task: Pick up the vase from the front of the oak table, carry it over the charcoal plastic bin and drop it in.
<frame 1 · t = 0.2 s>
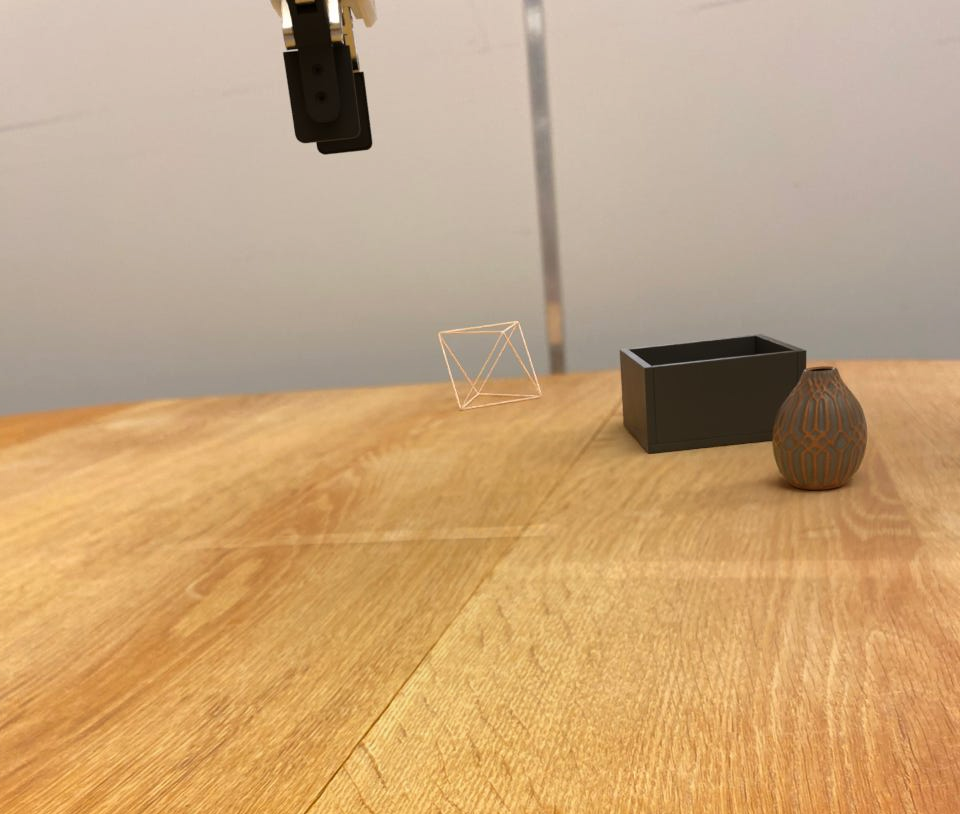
hand: (338, 146, 57), 26 cm above the table, tool pointing down, fingers open, 9 cm apart
bin: (708, 430, 105), on the table
vase: (818, 486, 83), on the table
geometric polyhedron: (493, 402, 135), on the table
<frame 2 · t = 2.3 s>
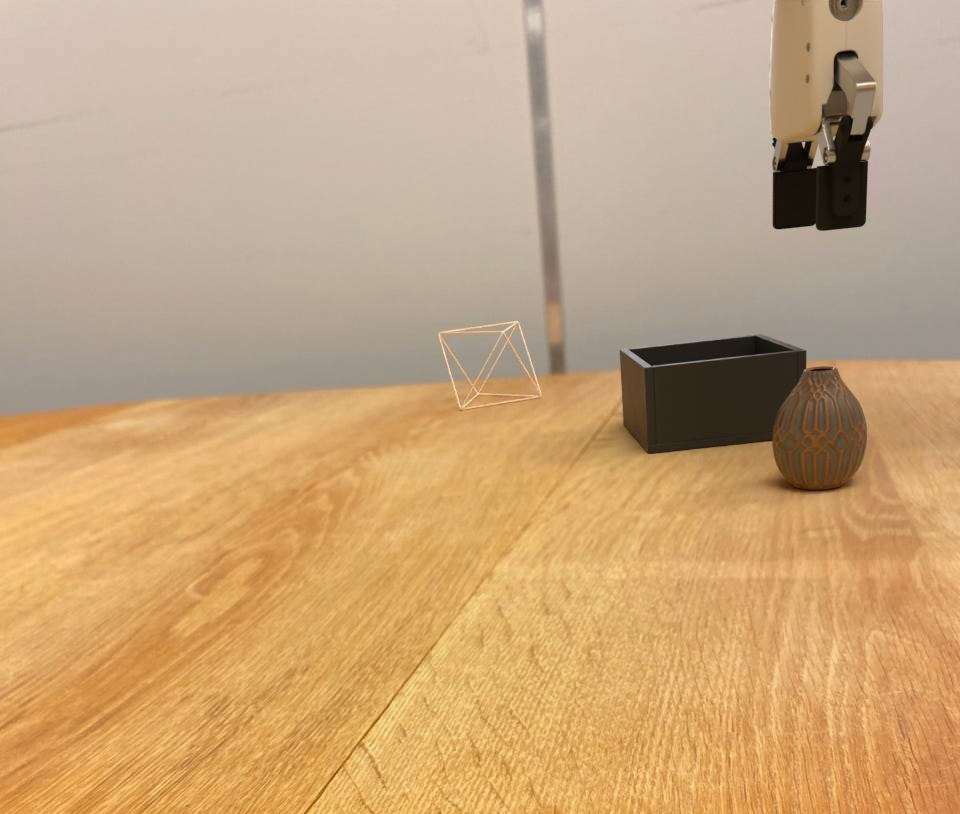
hand: (816, 228, 75), 19 cm above the table, tool pointing down, fingers open, 9 cm apart
nothing on the table moved.
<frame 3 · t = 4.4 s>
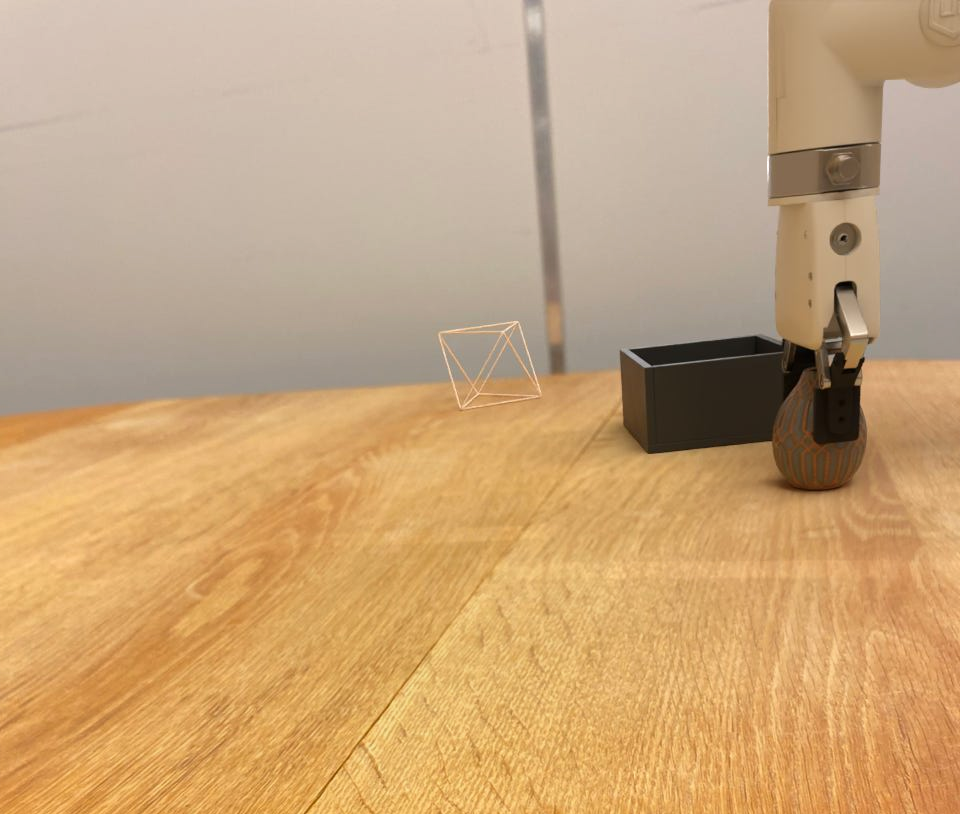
hand: (818, 430, 81), 4 cm above the table, tool pointing down, fingers closed on vase, 6 cm apart
vase: (818, 486, 83), on the table, touching gripper
everything else where it was.
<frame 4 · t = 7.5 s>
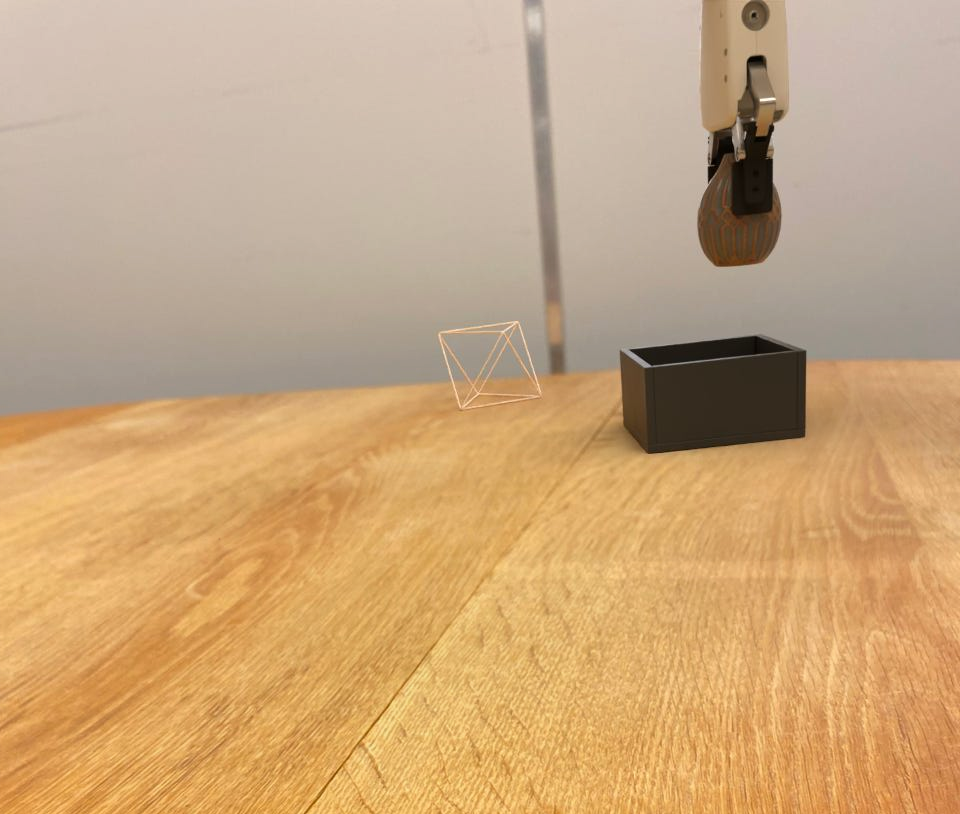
hand: (739, 212, 89), 20 cm above the table, tool pointing down, fingers closed on vase, 6 cm apart
vase: (739, 267, 91), point 16 cm above the table, touching gripper
everything else where it was.
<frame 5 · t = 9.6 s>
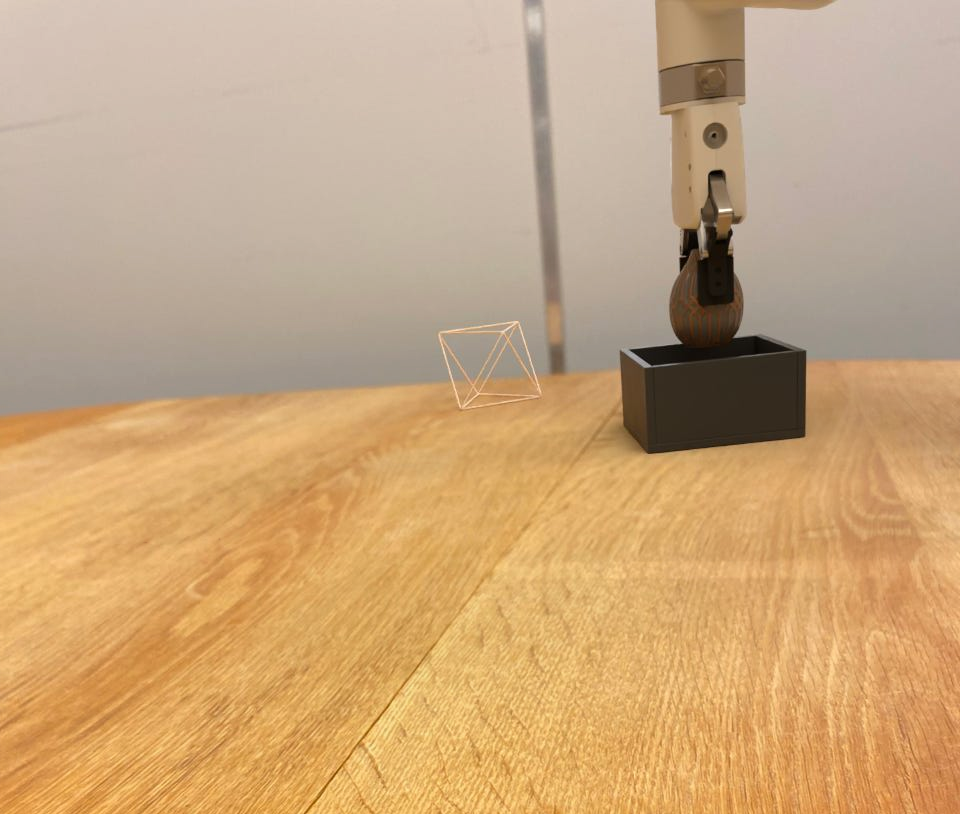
hand: (706, 300, 100), 12 cm above the table, tool pointing down, fingers closed on vase, 6 cm apart
vase: (707, 347, 102), point 8 cm above the table, touching gripper
everything else where it was.
when the fingers open (9 cm above the table, at t = 11.1 s): vase drops 4 cm, resting on bin.
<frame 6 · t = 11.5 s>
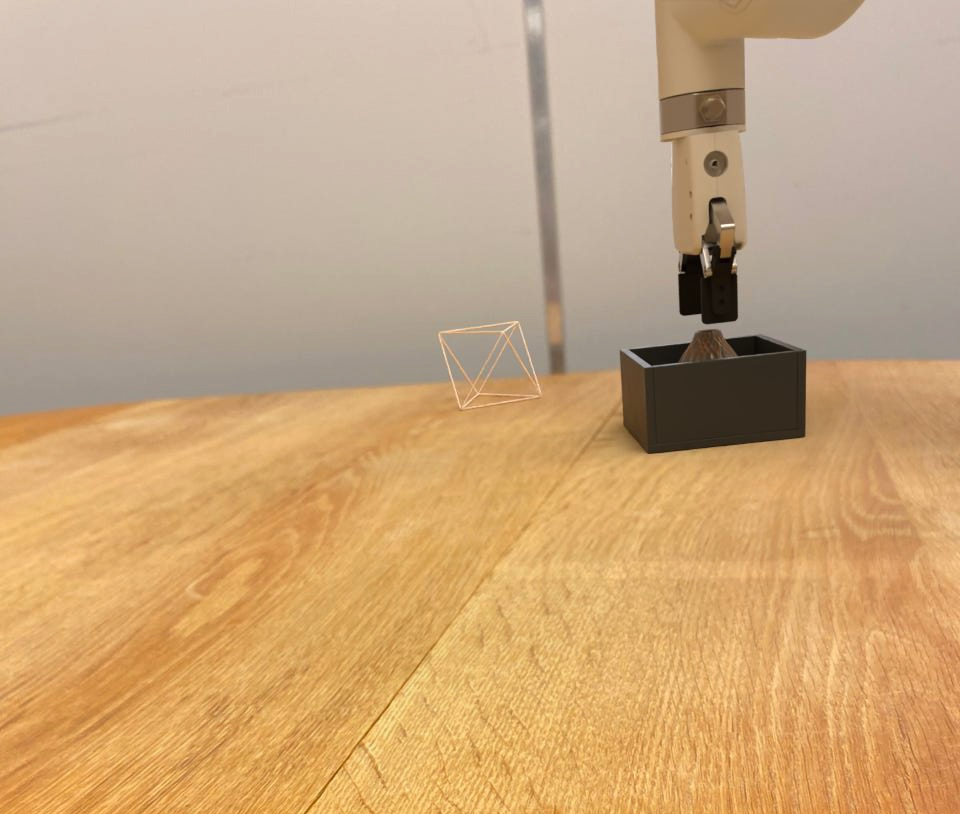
hand: (707, 318, 101), 11 cm above the table, tool pointing down, fingers open, 9 cm apart
vase: (709, 424, 104), point 1 cm above the table, touching bin
everything else where it was.
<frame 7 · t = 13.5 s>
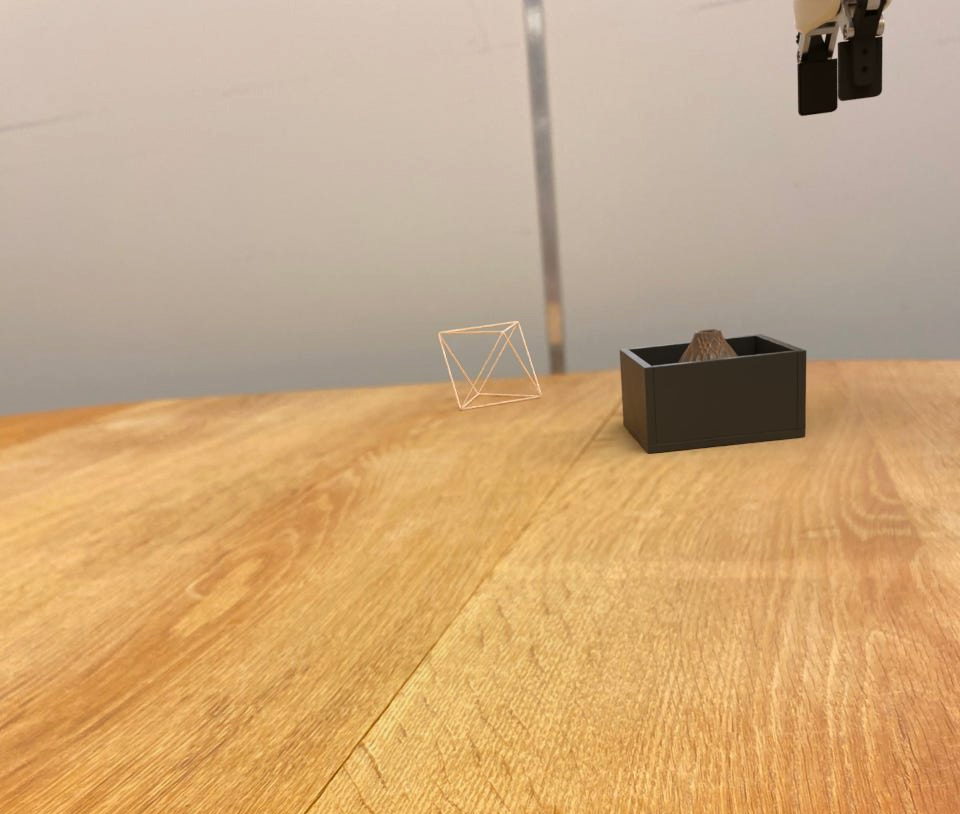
hand: (837, 106, 86), 27 cm above the table, tool pointing down, fingers open, 9 cm apart
nothing on the table moved.
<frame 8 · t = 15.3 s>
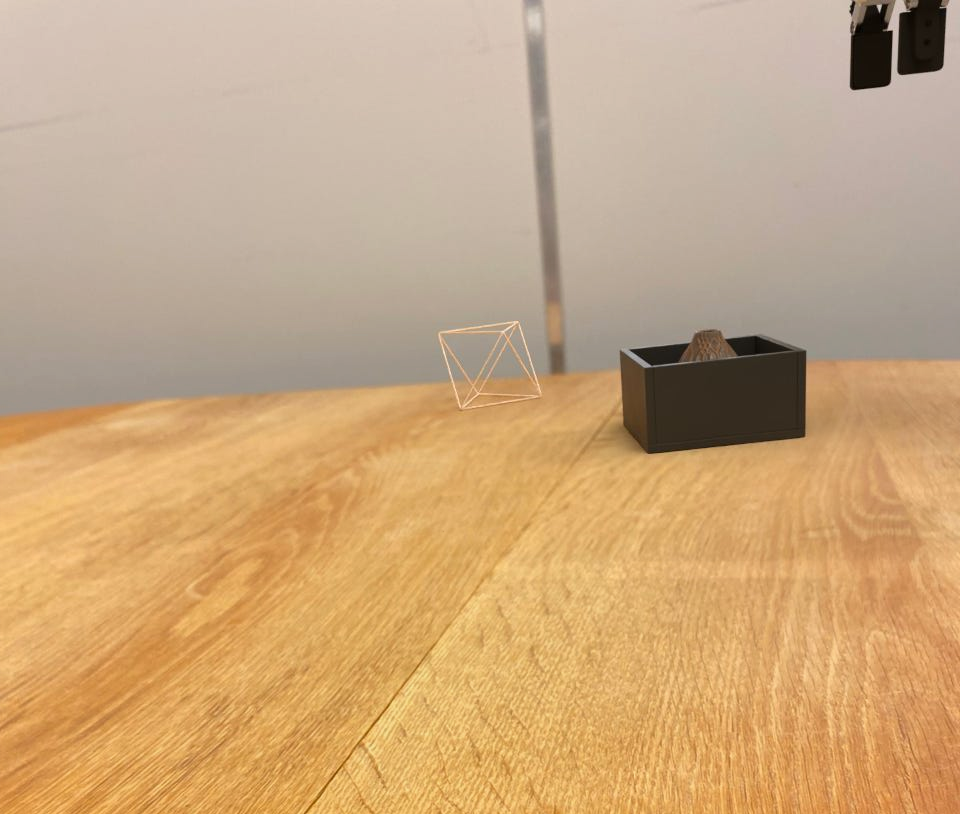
hand: (893, 80, 82), 28 cm above the table, tool pointing down, fingers open, 9 cm apart
nothing on the table moved.
at the end: vase inside the target area in the bin (0.1 cm from its centre), point 0.6 cm above the bin's base; the gripper is holding nothing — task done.
